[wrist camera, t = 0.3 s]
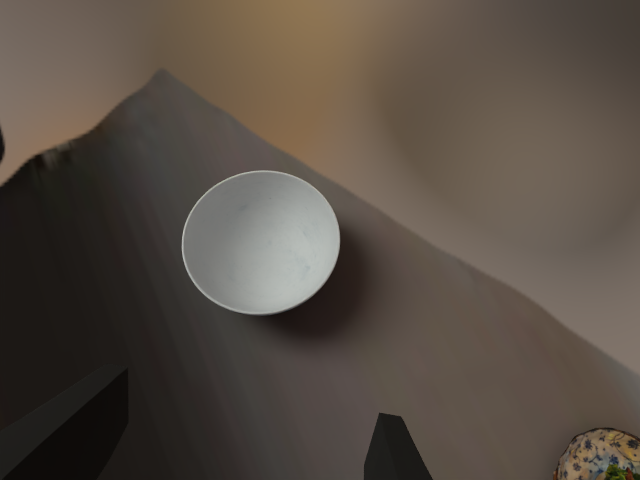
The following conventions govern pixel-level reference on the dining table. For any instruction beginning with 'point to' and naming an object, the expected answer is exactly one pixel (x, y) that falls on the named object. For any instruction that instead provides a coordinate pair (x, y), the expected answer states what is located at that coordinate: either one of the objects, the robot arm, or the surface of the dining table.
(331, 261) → the chinaware
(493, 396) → the dining table surface
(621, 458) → the burger
